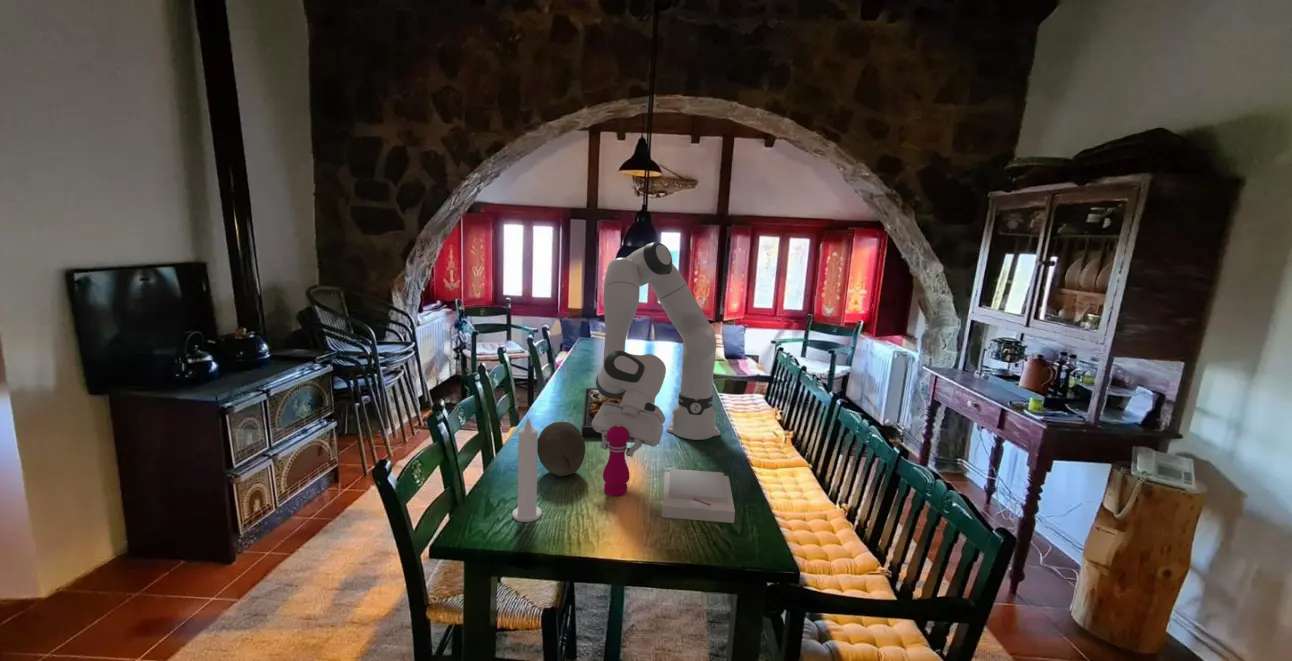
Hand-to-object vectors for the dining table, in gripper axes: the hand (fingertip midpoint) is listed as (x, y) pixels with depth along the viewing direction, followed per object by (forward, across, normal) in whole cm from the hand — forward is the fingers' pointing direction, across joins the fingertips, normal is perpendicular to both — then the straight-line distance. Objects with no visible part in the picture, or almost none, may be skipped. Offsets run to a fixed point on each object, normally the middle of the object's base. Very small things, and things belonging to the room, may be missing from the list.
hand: (615, 452), depth 149 cm
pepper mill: (+8, 0, +9) cm, 12 cm away
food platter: (-28, -31, +46) cm, 62 cm away
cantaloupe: (+8, -19, +9) cm, 22 cm away
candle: (+24, -11, -8) cm, 28 cm away
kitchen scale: (+2, +21, +14) cm, 25 cm away
